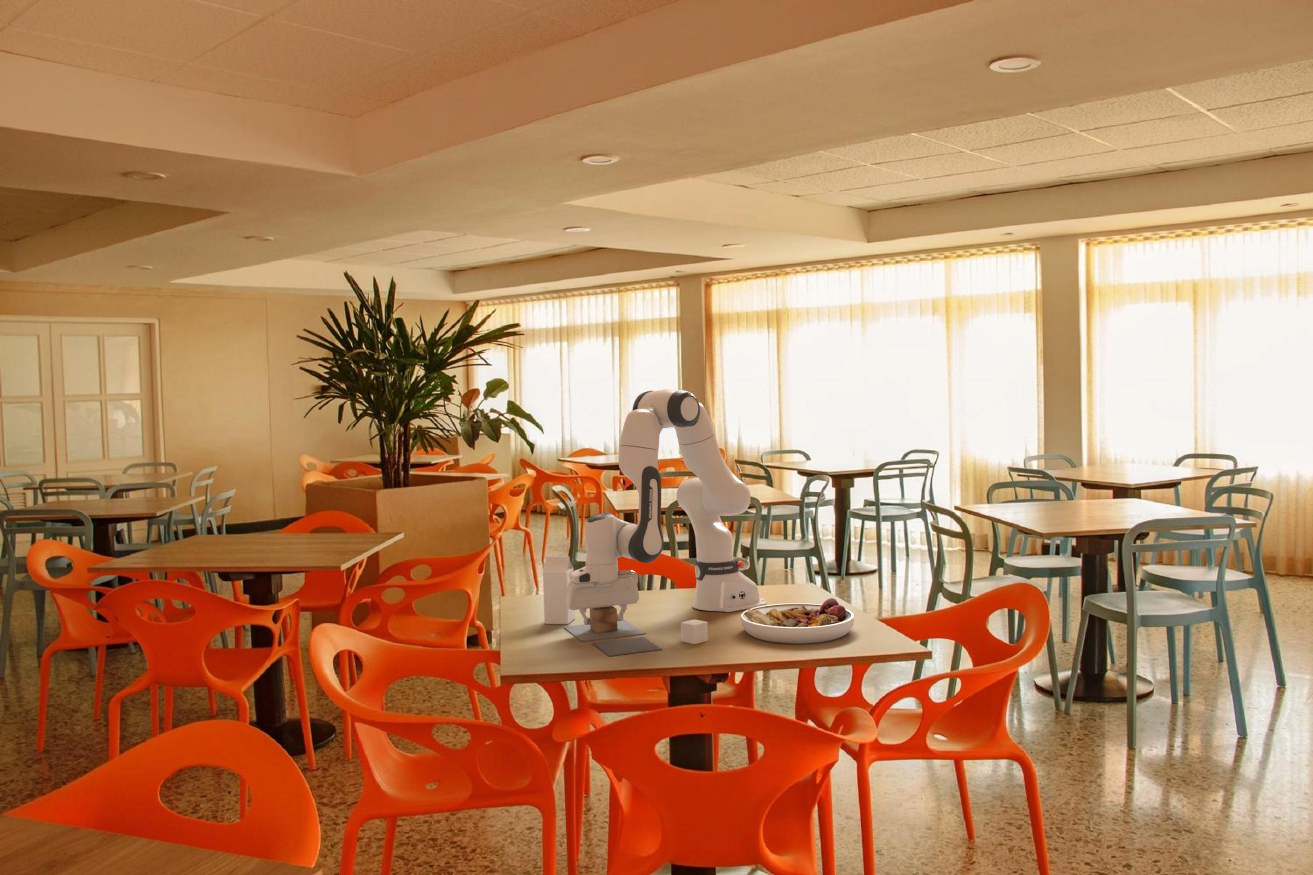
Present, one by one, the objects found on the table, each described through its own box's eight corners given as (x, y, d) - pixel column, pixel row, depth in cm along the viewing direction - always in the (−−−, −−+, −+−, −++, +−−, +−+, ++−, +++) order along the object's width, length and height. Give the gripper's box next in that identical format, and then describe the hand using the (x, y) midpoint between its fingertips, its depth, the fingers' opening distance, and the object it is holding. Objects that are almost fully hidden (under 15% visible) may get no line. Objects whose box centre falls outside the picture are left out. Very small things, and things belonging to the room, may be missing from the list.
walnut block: (610, 625, 280) (610, 604, 280) (617, 630, 274) (616, 608, 274) (590, 628, 278) (589, 606, 278) (596, 632, 272) (595, 610, 272)
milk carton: (568, 624, 285) (565, 558, 285) (544, 624, 287) (542, 558, 286) (575, 619, 292) (573, 554, 291) (551, 618, 294) (549, 554, 293)
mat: (643, 637, 267) (643, 636, 267) (662, 649, 253) (661, 648, 253) (593, 644, 262) (593, 642, 262) (609, 656, 249) (609, 655, 249)
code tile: (624, 620, 288) (624, 619, 288) (645, 634, 271) (645, 632, 271) (563, 627, 282) (563, 626, 282) (581, 641, 265) (581, 640, 265)
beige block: (695, 637, 265) (694, 619, 265) (708, 640, 262) (707, 621, 261) (681, 641, 262) (680, 622, 262) (694, 644, 258) (693, 625, 258)
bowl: (789, 653, 247) (789, 621, 247) (718, 631, 273) (718, 602, 272) (878, 634, 263) (877, 605, 263) (803, 615, 288) (802, 588, 288)
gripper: (633, 567, 282) (635, 616, 283) (563, 574, 275) (565, 624, 276) (641, 571, 276) (643, 620, 277) (569, 577, 269) (571, 628, 270)
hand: (603, 622), depth 276 cm, fingers open, 8 cm apart
